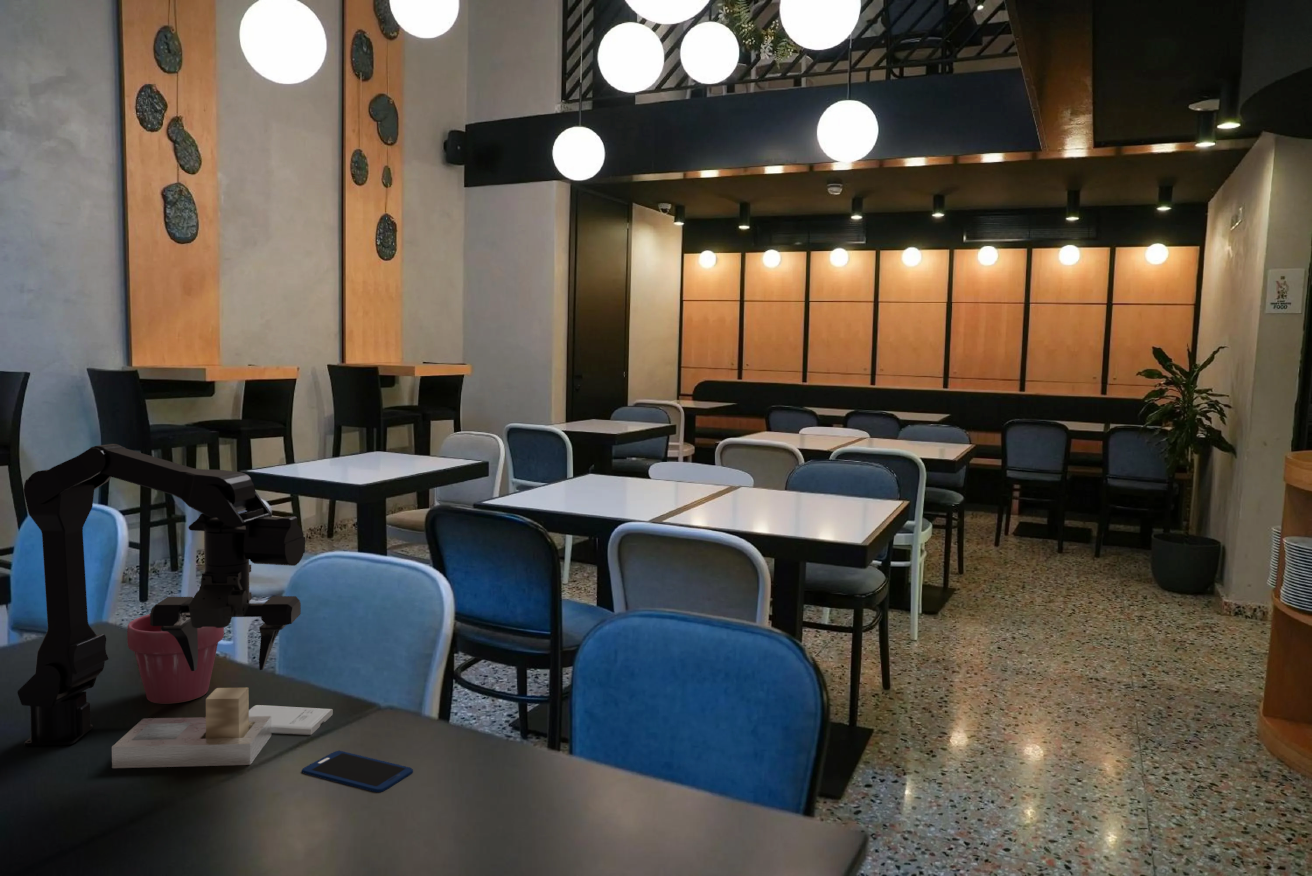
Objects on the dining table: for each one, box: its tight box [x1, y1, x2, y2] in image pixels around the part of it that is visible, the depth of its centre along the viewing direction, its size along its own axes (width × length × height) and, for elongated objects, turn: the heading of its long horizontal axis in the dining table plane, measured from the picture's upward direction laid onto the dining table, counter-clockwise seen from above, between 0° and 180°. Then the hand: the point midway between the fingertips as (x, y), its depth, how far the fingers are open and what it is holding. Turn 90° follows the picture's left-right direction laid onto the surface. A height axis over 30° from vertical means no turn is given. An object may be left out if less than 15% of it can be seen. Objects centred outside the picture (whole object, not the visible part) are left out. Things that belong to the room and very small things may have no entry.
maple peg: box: [205, 687, 250, 739], centre depth 131 cm, size 4×4×8 cm
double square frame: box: [111, 716, 272, 769], centre depth 131 cm, size 18×10×3 cm, turn 97°
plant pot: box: [126, 613, 225, 705], centre depth 152 cm, size 14×14×13 cm
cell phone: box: [301, 750, 414, 793], centre depth 126 cm, size 7×14×1 cm, turn 67°
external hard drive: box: [249, 704, 334, 736], centre depth 142 cm, size 2×8×12 cm
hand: (228, 669), depth 130 cm, fingers open, 9 cm apart
